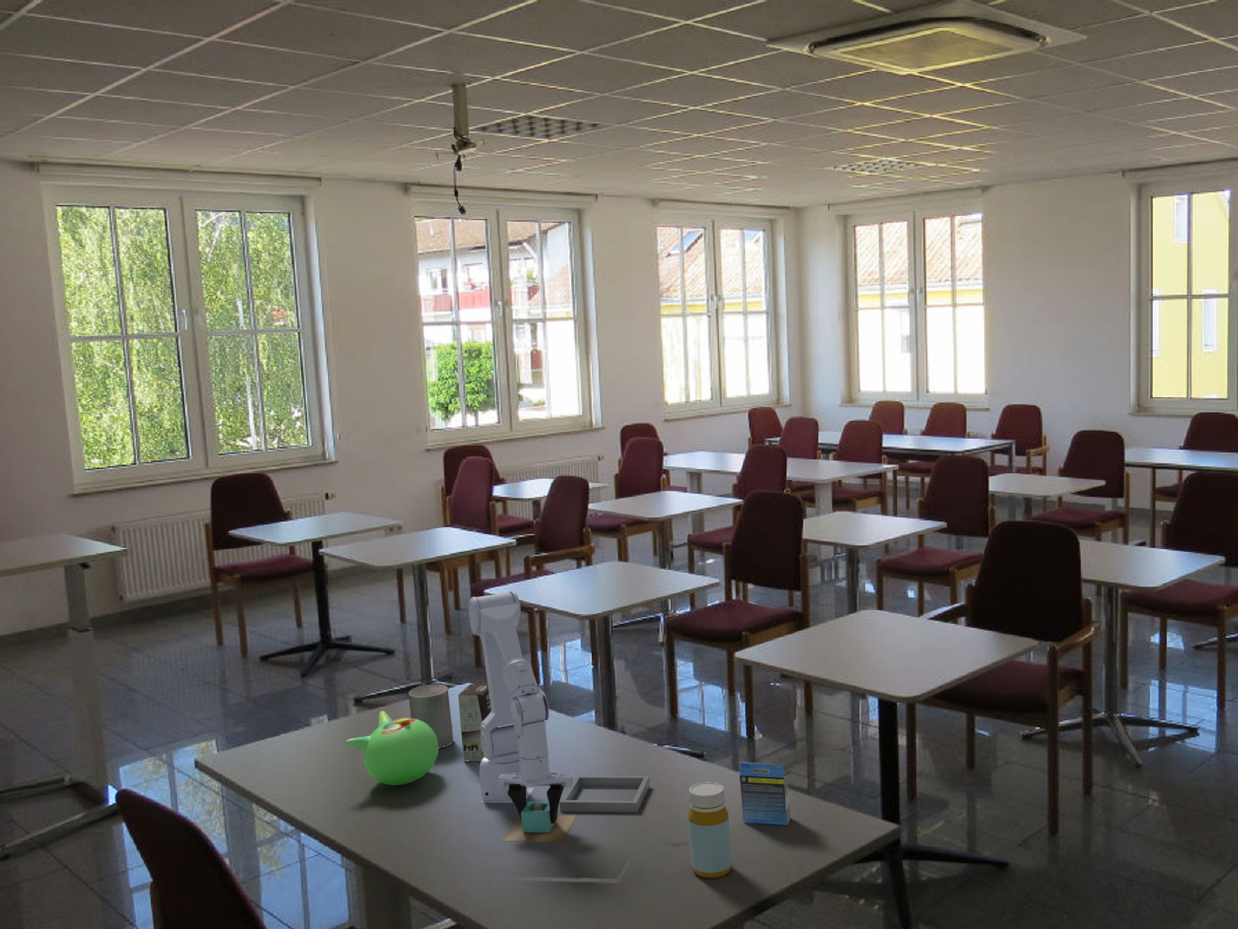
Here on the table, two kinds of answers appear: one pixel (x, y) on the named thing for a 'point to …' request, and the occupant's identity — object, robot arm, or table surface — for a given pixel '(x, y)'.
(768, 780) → the label tape box
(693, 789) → the bottle
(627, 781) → the tray
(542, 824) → the teal hollow block
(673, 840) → the table surface
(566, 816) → the stake board
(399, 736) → the toy bird
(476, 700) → the coffee box
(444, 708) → the pillar candle
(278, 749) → the table surface
